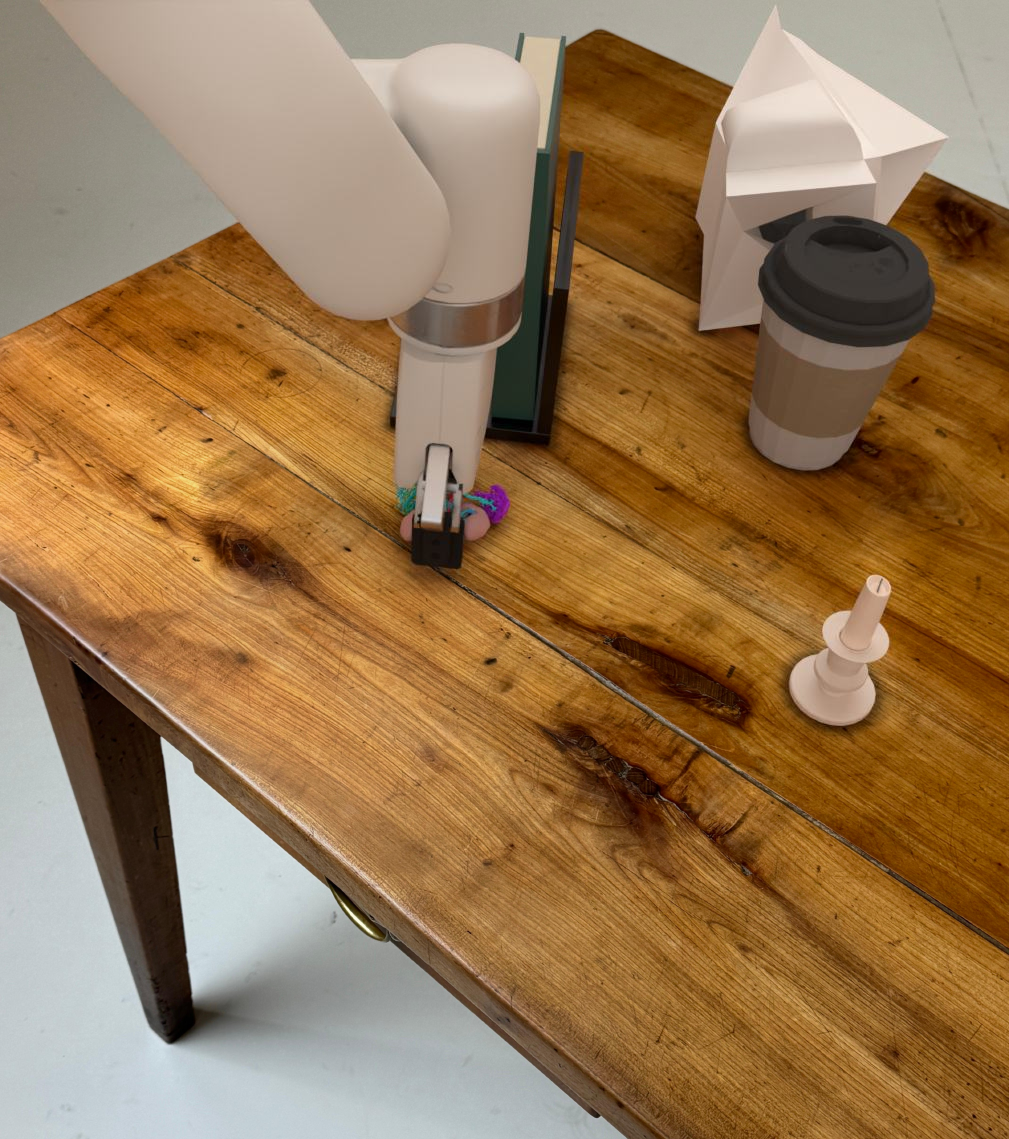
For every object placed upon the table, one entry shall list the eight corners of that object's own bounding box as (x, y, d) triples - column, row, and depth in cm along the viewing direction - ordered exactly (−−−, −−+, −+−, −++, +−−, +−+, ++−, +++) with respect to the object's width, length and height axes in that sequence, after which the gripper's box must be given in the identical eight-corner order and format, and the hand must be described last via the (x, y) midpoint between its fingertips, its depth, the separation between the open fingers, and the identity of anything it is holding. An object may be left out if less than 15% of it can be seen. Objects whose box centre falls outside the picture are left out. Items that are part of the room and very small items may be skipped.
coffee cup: (863, 390, 96) (929, 211, 84) (888, 497, 89) (963, 318, 77) (713, 380, 95) (758, 198, 84) (725, 487, 88) (776, 305, 77)
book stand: (389, 427, 90) (388, 268, 80) (420, 290, 100) (423, 133, 89) (549, 445, 90) (569, 289, 79) (564, 306, 100) (584, 151, 89)
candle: (888, 688, 78) (945, 574, 70) (847, 741, 76) (902, 629, 68) (814, 644, 80) (862, 528, 72) (772, 695, 78) (817, 580, 69)
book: (498, 149, 74) (550, 153, 73) (519, 32, 82) (566, 35, 82) (490, 417, 89) (533, 420, 89) (509, 295, 98) (548, 298, 98)
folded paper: (757, 141, 84) (996, 159, 87) (682, -27, 98) (889, -6, 102) (690, 351, 97) (900, 360, 100) (632, 176, 112) (817, 189, 115)
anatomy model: (493, 532, 78) (517, 448, 81) (367, 506, 79) (396, 424, 82) (491, 580, 83) (514, 499, 86) (372, 555, 83) (399, 476, 87)
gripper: (408, 194, 75) (406, 425, 89) (359, 386, 64) (366, 613, 78) (535, 209, 75) (513, 437, 89) (507, 403, 64) (487, 628, 78)
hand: (444, 518), depth 84 cm, fingers closed on anatomy model, 7 cm apart
